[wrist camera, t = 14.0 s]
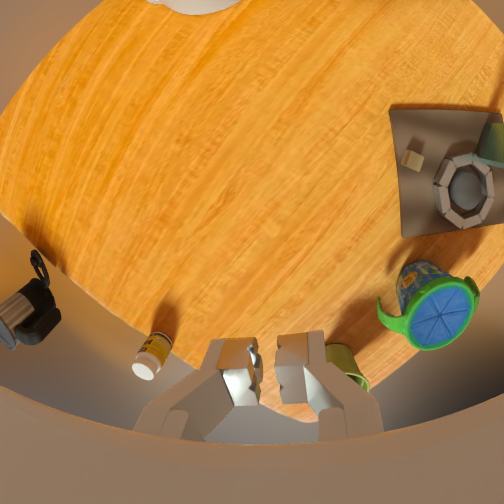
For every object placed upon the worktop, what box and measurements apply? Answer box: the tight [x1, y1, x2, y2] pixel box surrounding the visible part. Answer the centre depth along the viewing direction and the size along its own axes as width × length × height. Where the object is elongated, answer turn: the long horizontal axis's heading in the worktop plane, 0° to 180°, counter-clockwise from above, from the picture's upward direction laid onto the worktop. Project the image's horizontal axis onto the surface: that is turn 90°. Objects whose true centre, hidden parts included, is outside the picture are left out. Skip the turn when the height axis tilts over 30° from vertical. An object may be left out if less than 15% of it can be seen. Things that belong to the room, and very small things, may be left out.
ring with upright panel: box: [433, 123, 504, 230], centre depth 24 cm, size 13×13×14 cm
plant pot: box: [325, 344, 370, 393], centre depth 41 cm, size 9×9×9 cm
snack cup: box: [377, 260, 480, 350], centre depth 34 cm, size 16×10×10 cm
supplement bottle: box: [132, 332, 173, 380], centre depth 45 cm, size 5×5×8 cm
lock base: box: [389, 110, 504, 238], centre depth 30 cm, size 17×20×3 cm
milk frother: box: [0, 250, 61, 350], centre depth 42 cm, size 14×16×15 cm
